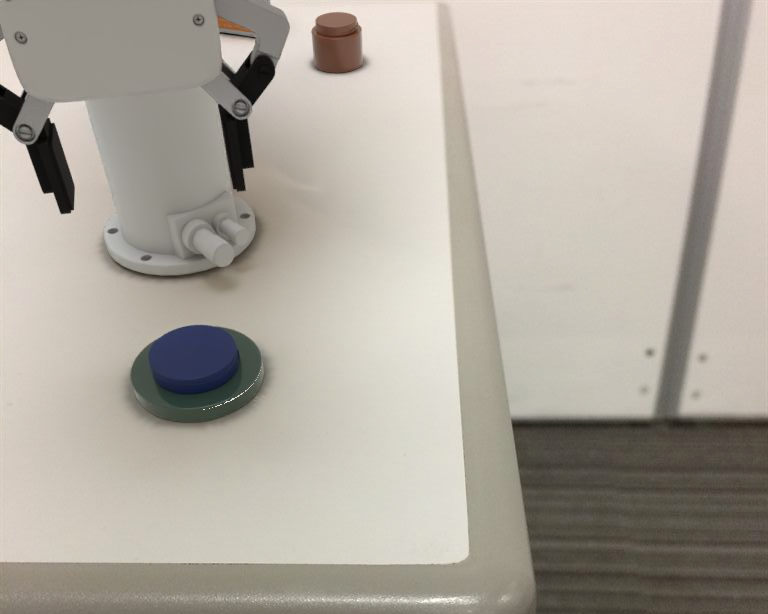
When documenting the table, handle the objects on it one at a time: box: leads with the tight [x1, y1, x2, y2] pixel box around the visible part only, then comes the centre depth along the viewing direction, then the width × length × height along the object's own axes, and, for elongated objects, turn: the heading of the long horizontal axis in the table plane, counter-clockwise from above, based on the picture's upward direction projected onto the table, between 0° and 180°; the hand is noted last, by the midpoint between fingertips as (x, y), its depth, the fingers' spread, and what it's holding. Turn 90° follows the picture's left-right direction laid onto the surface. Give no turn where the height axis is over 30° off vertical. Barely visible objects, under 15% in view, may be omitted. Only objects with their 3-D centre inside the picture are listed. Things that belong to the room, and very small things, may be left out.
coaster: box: [129, 325, 265, 423], centre depth 57 cm, size 9×9×1 cm
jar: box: [311, 11, 364, 74], centre depth 92 cm, size 6×6×4 cm
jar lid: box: [148, 324, 240, 394], centre depth 56 cm, size 6×6×1 cm
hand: (154, 190), depth 47 cm, fingers open, 9 cm apart
